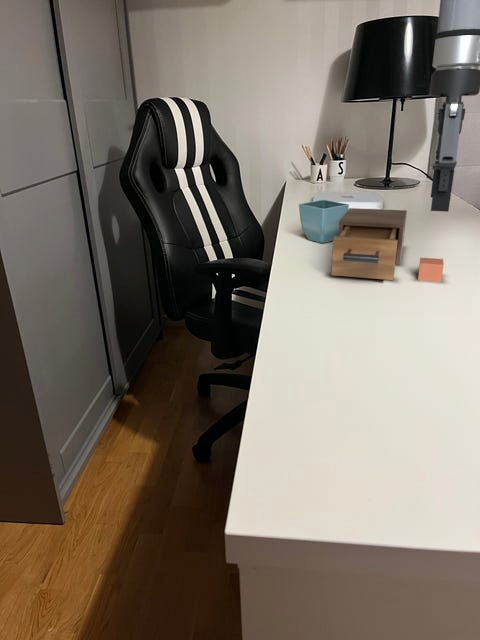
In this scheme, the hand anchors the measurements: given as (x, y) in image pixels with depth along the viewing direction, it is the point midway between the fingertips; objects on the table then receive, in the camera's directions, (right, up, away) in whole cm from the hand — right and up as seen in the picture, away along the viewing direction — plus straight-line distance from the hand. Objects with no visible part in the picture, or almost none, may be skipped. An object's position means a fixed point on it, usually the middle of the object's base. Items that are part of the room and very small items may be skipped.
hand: (438, 203), depth 88 cm
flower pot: (-15, -1, +36) cm, 39 cm away
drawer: (-11, -11, +9) cm, 18 cm away
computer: (+1, +18, +80) cm, 82 cm away
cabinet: (-6, -7, +22) cm, 23 cm away
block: (0, -13, +6) cm, 14 cm away
